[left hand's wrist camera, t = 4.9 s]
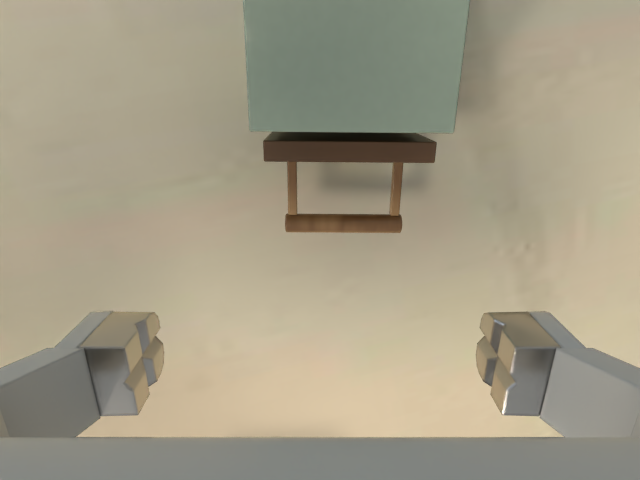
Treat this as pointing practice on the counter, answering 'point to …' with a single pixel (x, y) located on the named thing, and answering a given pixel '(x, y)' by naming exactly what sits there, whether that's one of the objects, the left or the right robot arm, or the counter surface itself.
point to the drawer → (347, 150)
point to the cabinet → (354, 65)
